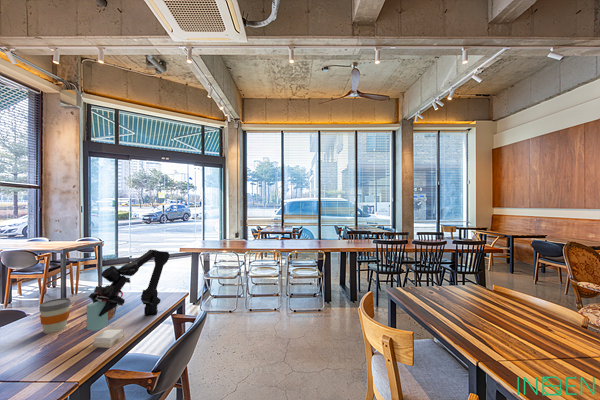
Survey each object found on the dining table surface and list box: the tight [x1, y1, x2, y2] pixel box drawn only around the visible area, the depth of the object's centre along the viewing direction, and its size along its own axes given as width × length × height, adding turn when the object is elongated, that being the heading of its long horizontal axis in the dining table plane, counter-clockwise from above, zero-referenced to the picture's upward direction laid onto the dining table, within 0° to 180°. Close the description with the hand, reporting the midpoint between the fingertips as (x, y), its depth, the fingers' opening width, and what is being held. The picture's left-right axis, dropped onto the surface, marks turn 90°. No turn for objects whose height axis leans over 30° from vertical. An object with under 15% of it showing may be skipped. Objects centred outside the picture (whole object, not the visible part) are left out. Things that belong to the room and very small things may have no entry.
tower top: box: [93, 329, 124, 343], centre depth 127 cm, size 8×8×2 cm
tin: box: [108, 307, 117, 321], centre depth 150 cm, size 15×3×8 cm, turn 2°
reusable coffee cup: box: [38, 297, 72, 334], centre depth 140 cm, size 13×13×15 cm
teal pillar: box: [86, 301, 109, 332], centre depth 128 cm, size 6×6×12 cm
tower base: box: [92, 333, 125, 349], centre depth 127 cm, size 9×9×2 cm
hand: (94, 315), depth 127 cm, fingers closed on teal pillar, 6 cm apart
